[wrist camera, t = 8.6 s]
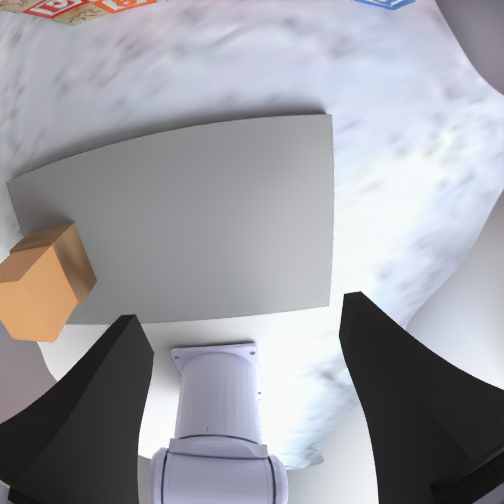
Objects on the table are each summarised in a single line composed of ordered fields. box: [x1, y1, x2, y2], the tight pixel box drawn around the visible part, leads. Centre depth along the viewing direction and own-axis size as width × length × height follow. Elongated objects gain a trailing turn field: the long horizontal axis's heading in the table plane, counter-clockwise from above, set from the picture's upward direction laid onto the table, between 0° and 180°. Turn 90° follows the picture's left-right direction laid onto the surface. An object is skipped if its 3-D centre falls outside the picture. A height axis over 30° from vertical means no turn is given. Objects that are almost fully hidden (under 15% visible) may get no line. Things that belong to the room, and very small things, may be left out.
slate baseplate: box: [6, 114, 334, 324], centre depth 19 cm, size 14×24×1 cm, turn 96°
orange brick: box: [0, 245, 78, 342], centre depth 14 cm, size 4×4×4 cm
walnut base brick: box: [9, 222, 97, 306], centre depth 17 cm, size 5×5×3 cm
